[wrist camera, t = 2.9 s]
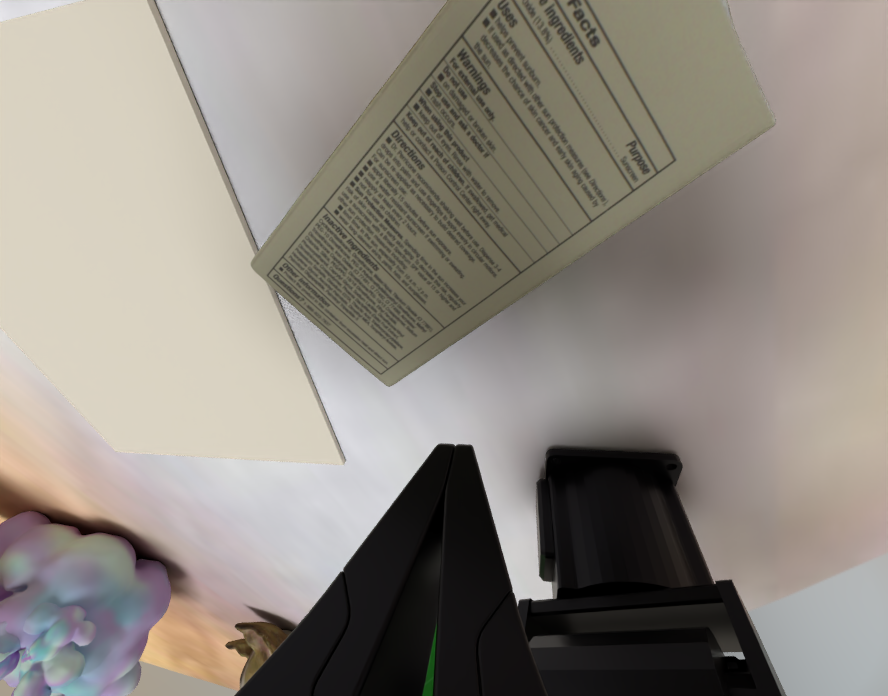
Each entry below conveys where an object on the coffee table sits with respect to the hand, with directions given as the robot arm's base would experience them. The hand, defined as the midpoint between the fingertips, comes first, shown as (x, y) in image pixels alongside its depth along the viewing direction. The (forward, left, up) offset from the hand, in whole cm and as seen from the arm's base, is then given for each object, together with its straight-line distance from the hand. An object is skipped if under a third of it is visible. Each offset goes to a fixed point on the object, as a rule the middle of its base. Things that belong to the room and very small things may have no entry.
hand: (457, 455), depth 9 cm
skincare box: (+5, -1, -6) cm, 8 cm away
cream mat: (+18, 0, -8) cm, 20 cm away
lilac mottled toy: (+44, +28, -8) cm, 53 cm away
